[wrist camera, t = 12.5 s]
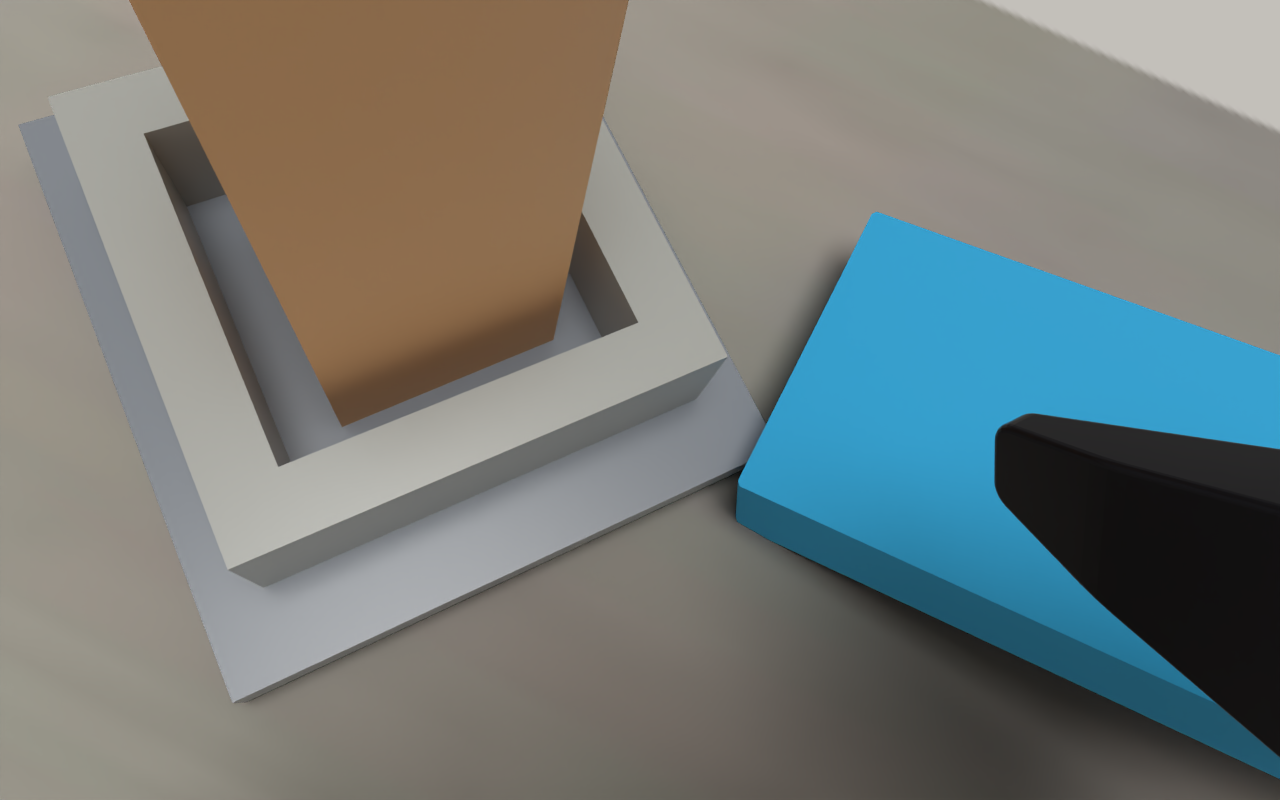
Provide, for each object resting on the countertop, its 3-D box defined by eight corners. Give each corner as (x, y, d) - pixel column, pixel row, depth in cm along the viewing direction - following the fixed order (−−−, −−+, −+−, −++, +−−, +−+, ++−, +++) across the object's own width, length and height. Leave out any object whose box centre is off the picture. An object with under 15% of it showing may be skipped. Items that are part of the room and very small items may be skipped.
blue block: (730, 578, 23) (1527, 964, 19) (736, 484, 17) (1937, 1032, 12) (834, 362, 26) (1565, 658, 21) (873, 210, 20) (1925, 586, 15)
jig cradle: (763, 459, 20) (822, 412, 16) (246, 702, 16) (189, 704, 13) (530, 14, 22) (540, -106, 19) (41, 153, 19) (-51, 39, 16)
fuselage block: (553, 339, 18) (705, -350, 6) (342, 427, 17) (18, -222, 5) (463, 161, 19) (442, -750, 7) (255, 231, 18) (-200, -727, 6)
